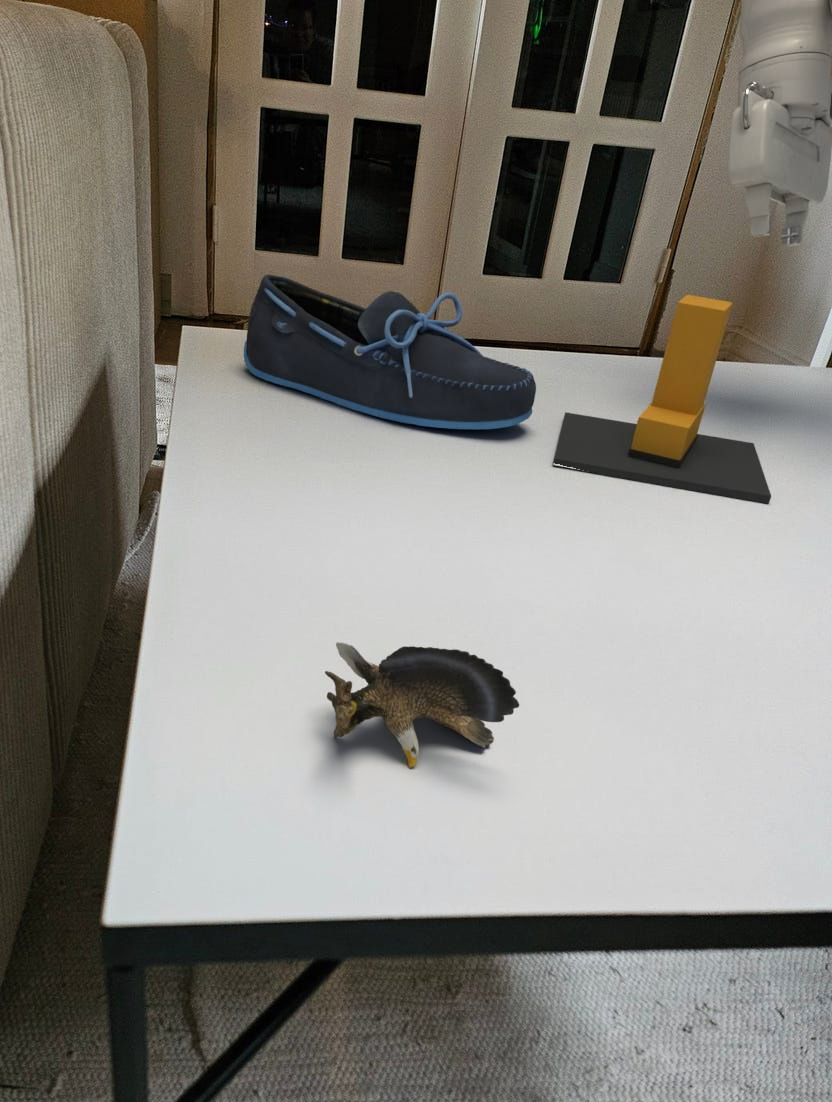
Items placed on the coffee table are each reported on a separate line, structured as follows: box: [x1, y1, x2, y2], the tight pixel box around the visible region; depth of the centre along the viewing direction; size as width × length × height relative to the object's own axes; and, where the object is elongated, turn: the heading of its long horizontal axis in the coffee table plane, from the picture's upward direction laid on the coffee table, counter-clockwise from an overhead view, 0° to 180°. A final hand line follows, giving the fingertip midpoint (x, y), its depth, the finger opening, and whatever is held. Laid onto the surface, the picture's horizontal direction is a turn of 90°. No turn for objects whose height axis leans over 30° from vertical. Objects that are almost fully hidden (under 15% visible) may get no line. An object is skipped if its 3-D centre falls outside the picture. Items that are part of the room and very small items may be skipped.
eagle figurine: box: [324, 641, 520, 768], centre depth 49 cm, size 8×7×9 cm
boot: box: [628, 294, 733, 468], centre depth 92 cm, size 10×5×14 cm, turn 153°
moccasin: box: [243, 274, 537, 430], centre depth 100 cm, size 14×34×12 cm, turn 65°
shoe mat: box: [552, 411, 772, 505], centre depth 95 cm, size 20×16×1 cm
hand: (776, 240), depth 102 cm, fingers open, 8 cm apart
